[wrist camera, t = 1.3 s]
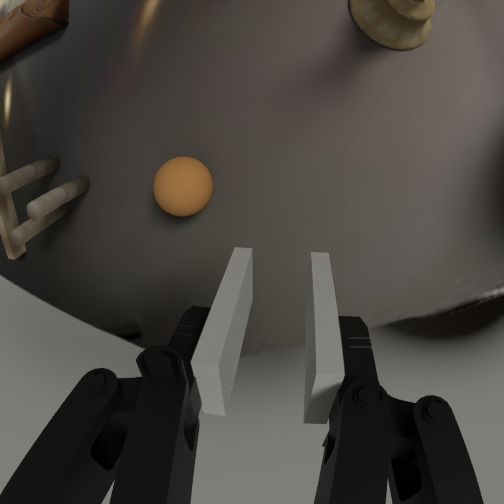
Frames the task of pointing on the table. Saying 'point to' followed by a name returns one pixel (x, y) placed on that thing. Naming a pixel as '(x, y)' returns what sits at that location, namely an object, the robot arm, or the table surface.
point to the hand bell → (394, 21)
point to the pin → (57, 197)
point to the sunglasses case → (31, 24)
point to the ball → (182, 186)
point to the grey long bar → (8, 215)
